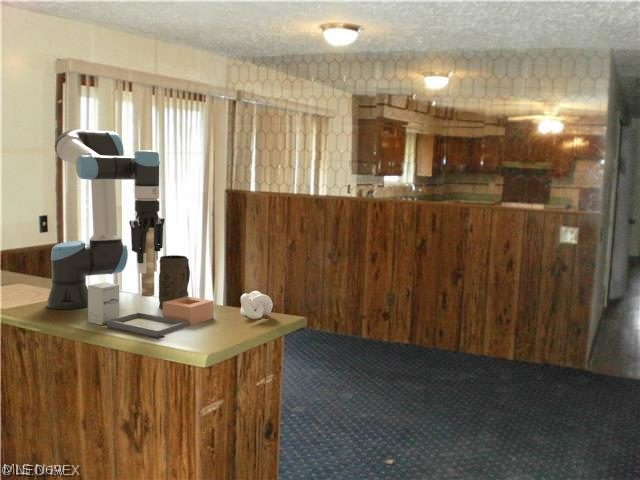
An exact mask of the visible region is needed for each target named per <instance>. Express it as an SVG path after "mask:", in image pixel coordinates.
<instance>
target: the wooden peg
mask: <svg viewBox="0 0 640 480" xmlns="http://www.w3.org/2000/svg"><path fill="white" fill-rule="evenodd" d="M141 229H144V228H141ZM144 253H146V274H143V273H140V274H141V275H140V277H141V280H140V281H141V296H142V297H154V296H155V272H154V228H149V230H148V232H147V236H146V243H145V251H144Z"/></svg>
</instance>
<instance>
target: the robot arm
mask: <svg viewBox="0 0 640 480" xmlns="http://www.w3.org/2000/svg"><path fill="white" fill-rule="evenodd" d="M119 135H120V134H119V133H117V132H114V131H108V130H91V129H90V130H89V129H71V130H68V131H65V132H63V133H62V134H60V135H59V136H58V137H57V138H56V139H55V142H54V152H55V153H56V155H57V156H58V157H59V159H61V160H62V161H64V162H67V163H71V164H72V165H74V166H75V171H76V175H77V176H78V178H79V179H80V180H82V179H83V180H89V181H90V183H91V184H90V187H91V207H92V211H91V212H92V232H93V234H92V236H91V237H90V238H89V244H87V243H86V242H85V241H83V240H75V241H74V240H71V241H65V242H60V243H57V244H55V245H54V246H52V248H51V252H50V253H51V255H50V260H51V287H50V291H49V295H48V297H47V301H46V303H47V308H49V309H52V310H76V309H82V308H83V309H84V308H88V285H87V281H86V279H87V276H89V277H90V276H99V275H100V276H101V275H102V276H103V275H113V274H120V273H122V272H123V271H124V270H125V268H126V266H127V262H128V257H129V254H128V253H129V252H128V251H129V250H128V246H127V244H126V243H125V242H123V241H122V237H121V236H120V235H119V234H118V223H117V221H118V219H117V218H118V217H117V199H116V198H117V197H116V180H125V181H126V180H127V181H128V180H134V198H135V199H136V200H135V201H134V211H135V212H136V216H135V219H133V220H129V222H128V223H129V225H130V235H131V237H130V238H131V239H130V240H131V241H130V242H131V251H132V252H134V253H136V257H137V258H136V261H137V263H138V265H137V266H138V273H139V274H141V273H143V274H146V253H144V251H145V243H146V236H147V232H148V230H149V228H154V273H155V272H158V259H159V257H158V255H159V253H158V252H161V249H163V247H164V246H163V245H164V224H165V220H166V219H165V218H161V217H159V214H158V213H159V212H160V200H159V199H160V163H161V161H160V154H159V152H158V150H157V151H156V150H136V151H135V152H134V155H132V156H131V155H130V156H126V155H125V152H124V151H125V150H124V146H123V141H122V138H121V137H120V136H119ZM124 155H125V156H124ZM141 228H144V229H141Z"/></svg>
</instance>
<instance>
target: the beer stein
mask: <svg viewBox="0 0 640 480" xmlns="http://www.w3.org/2000/svg"><path fill="white" fill-rule="evenodd" d="M159 258H160V259H159V261H158V263H159V274H158V302H159V305H158V308H159V309H161V310H163V302H167V301H171V300H174V299H178V298H182V297H186V296H188V297H189V292H188V291H189V290H188V287H189V284H190V283H189V282H190V276H191V271H190V270H191V269H190V265H189V258H188V257H187V256H185V255H177V254H176V255H175V254H174V255H173V254H172V255H171V254H169V255H162V256H160V257H159Z"/></svg>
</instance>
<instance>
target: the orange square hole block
mask: <svg viewBox="0 0 640 480" xmlns="http://www.w3.org/2000/svg"><path fill="white" fill-rule="evenodd" d="M214 302H215V301H214V300H210V299H209V300H208V299H205V298H199V297H191V296H189V295H188V296H186V297H182V298H178V299H174V300H171V301H167V302H163V309H162V317H167V318H173V319H178V320H183V321H188V326H193V325H197V324H199V323H203V322H205V321H209V320H211V319H214Z"/></svg>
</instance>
